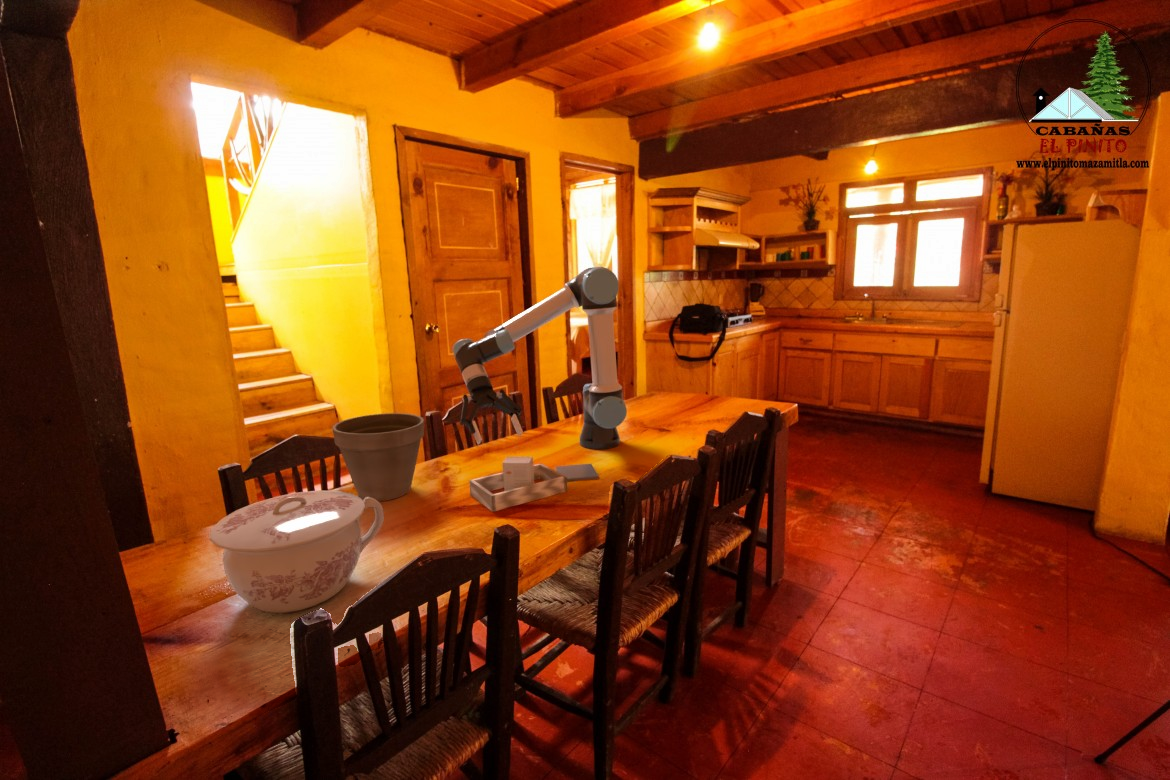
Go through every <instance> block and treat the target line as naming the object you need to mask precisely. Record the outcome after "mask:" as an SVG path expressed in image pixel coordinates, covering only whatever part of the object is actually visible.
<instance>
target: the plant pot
mask: <svg viewBox="0 0 1170 780" xmlns="http://www.w3.org/2000/svg"><path fill="white" fill-rule="evenodd" d="M332 432H333V439H334V441H333V442H334V444H335V446H336V447H338V448H339V450H340V453H341V455H342V458H343V461H344V463H345V466H346V469H347V471H348V473H349V477H350V478H351V482H352V483H353V486H354V488H355V490H356V492H357V496H358V497H360V498H361V499H363V500H364V498H365V497H371V498H374V499H375V500H377V501H378V502H384V501H390V500H395V499H397V498H401V497H403V496H405V495H407V494H408V493H409V492H410V490H411V487H412V483H413V478H414V474H415V470H416V466H417V460H418V457H419V456H418V455H419V450H420V445H421V440H422V439H423V438H424V436H425V420H424V417H422V416H420V415H417V414H411V413H401V412H393V413H388V412H386V413H376V414H367V415H362V416H361V415H360V416H355V417H351V418H347V419H344V420H342V421H341V420H340V421H339V422H337V423H335V424H334V425H333V426H332Z"/></svg>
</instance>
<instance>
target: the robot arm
mask: <svg viewBox="0 0 1170 780" xmlns="http://www.w3.org/2000/svg"><path fill="white" fill-rule="evenodd" d="M619 288H620V283H619V280H618V277H617V276H616V274H615V273H614V272H613V271H612V270H611V269H609V268H607V267H605V266H595V267H589V268H588V267H587V268H586V269H584V270H583V271H581V272H580V273H578V275H576V276H574V277H573V278H572V279H571V280H569V281H567V282H565V283H564V286H563V287H562V288H561V289H559V290H558V291H556V292H555V293H553V294H550V295H548V297H546V298H545V299H542V300H540V301H539V302H538V303H536V304H533V305H532V306H531V307H529V308H527V309H525V310H524V311H522V312H521V313H519V314H517V315H515V316H514V317H512V318H511V319H509V320H507V321H506V322H503V323H502V324H500V325H498V326H496V327H495V328H493V329H490V330H488V331H487V332H485V335H484V337H483V338H481V339H479V340H477V341H473V339H471V338H463V339H460V340H458V341H456V342H455V343H454V344H453V346H452V353H453V356H454V361H456V364H457V366H458V369H459V371H460V374H461V376H462V379H463V381H464V383H465V386H466V389H467V392H468V394H469V395H467V394H466V393H465V394H463V396H462V398H461V403H462V409H461V412H460V414H461V415H460V421H459V424H460V426H463V425H465V427H466V428H468V432H469V433H470V435H473V436H474V439H475V442H476V444H477V445H480V444H481V443H482V440H483V438H482V435H481V434H480V431H479V428H478V425H477V422H476V420H474V417H475V415H476V413H477V412H478V409H479V408H482V409H484V408H491V407H493V408H497V409H498V410H500V411H502V412H503V413H505V414H506V415H508V416H510V417H511V418H510V420H511V423H512V426H513V427H514V430H515V432H516V434H517V437H520V436H522V434H523V429H522V426H521V424H522V420H521V418H520V415H521V413H522V411H523V409H522V407H520V406H519V405H518V404H517V403H516V402H515V401H514V400H513V399H512V398H511V397H509V395H508V394H506V392H505V390H504V389H503V388H502V389H500V390H499V391H495V390H494V388H493V384H492V383H491V379H490V378H489V376H488V375H489V374H488V372H487V371H486V368H485V365H484V364H485V363H488V362H489V361H492V360H495V359H497V358H499V357H501V356H503V355H507V354H509V352H512V351H513V350H515V348H516V345H515V342H517V341H520V339H521V338H524V337H525V336H527V335H528V334H531V333H532V332H534V331H536V330H538V329H539V328H541V327H542V326H544V325H546V324H548V323H549V322H551V321H553V320H554V319H556V318H558V317H560V316H561V315H563V314H564V313H565V314H566V312H568V311H570V310H571V309H574V308H578V309H579V308H580V307H582V308H581V309H582V311H584V313H586V315H587V326H588V339H589V350H590V351H589V352H590V353H589V355H590V367H591V380H592V383H585V384H584V386H583V387H582V389H583V390H582V395H583V396H582V398H583V399H582V402H583V404H582V405H583V425H582V428H581V432H580V435H579V445H580V446H581V447H583V448H586V449H590V450H591V449H594V450H605V449H606V450H607V449H611V448H615V447H618V446H619V445H620V444H621V441H620V439H621V438H620V434H619V430H618V428H617V427H618V426H620V425H621V424H622V423H623V422H624V421H625V420H626V417H627V413H628V412H627V411H628V410H627V406H626V405H627V404H626V402H625V401H624V397H623V396H624V394H623V392H624V391H623V386H622V385H621V384H620V383H619V382H618V371H617V369H618V368H617V359H616V358H617V356H616V353H617V352H616V339H615V326H614V325H615V324H614V311H616V309H617V308H618V300H617V298H618V297H617V295H618V294H619V290H620V289H619ZM470 402H472V403H474V407H473V409H472V410H471V413H470V415H469V416H468V418H467V412H468V408H469V403H470Z"/></svg>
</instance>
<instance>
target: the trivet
mask: <svg viewBox="0 0 1170 780" xmlns="http://www.w3.org/2000/svg"><path fill="white" fill-rule="evenodd" d="M554 468H555V471H557V472H558V473H560V474H562V475H564V476H566V477H567V482H573V481H574V482H575V481H584V480H585V481H586V480H597V479H599V474H598V473H597V471H596V469H595V467H594V466H593V464H592V463H583V464H581V463H580V464H570V465H558V466H555V467H554Z"/></svg>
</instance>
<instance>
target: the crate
mask: <svg viewBox="0 0 1170 780" xmlns="http://www.w3.org/2000/svg"><path fill="white" fill-rule="evenodd" d="M533 470H534V481H537V480H540V479H541V480H542V481H540V482H536V483H535V482H534V484H531V485H527V486H523V487H519V488H516V489H512V490H508V491H504V490H503V491H501V492H500V491H499V492H497V493H492V492H493V491H497V490H500V489H504V480H503V471H502V472H499V473H494V474H490V475H489V474H488V475H486V476H482V477H477V478H472V479H469V480H468V481H469V492H470V493H469V494H470V496H472V498H474V499H475V500H477V501H478V502H479V503H481V504H482V505H483V507H484V506H485V507H486V508H487V509H488V510H489V511H491V512H493V513H494V512H497V511H500V510H504V509H507V508H512V507H516V506H518V505H522V504H523V505H524V504H526V503H529V502H533V501H537V500H541V499H544V498H548V497H551V496H554V495H558V494H562V493H566V492H568V481H567V477H566V476H564V475H562V474H560V473H558V472H557V471H556V469H555V470H554V469H553V468H551V467H549V466H547V465H545V464H543V463H536V464H533Z"/></svg>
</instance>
